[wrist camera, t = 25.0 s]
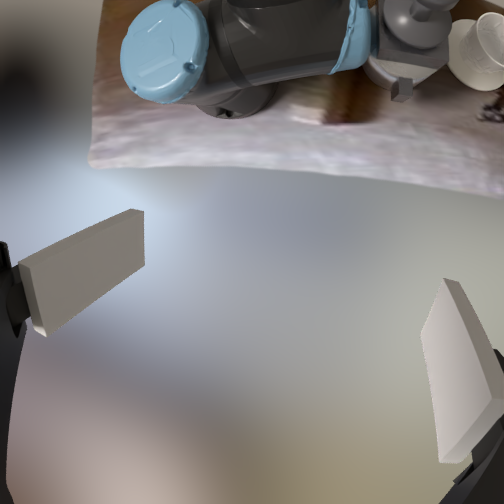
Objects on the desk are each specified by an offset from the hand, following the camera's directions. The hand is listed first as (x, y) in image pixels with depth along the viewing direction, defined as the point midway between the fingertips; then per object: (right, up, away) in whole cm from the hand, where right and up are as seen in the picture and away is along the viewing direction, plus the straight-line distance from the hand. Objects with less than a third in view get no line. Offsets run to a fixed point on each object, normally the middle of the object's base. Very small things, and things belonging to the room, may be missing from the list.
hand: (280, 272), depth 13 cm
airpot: (+20, +29, +25) cm, 43 cm away
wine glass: (+15, +24, +12) cm, 31 cm away
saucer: (+33, +31, +20) cm, 50 cm away
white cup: (+33, +31, +19) cm, 49 cm away
